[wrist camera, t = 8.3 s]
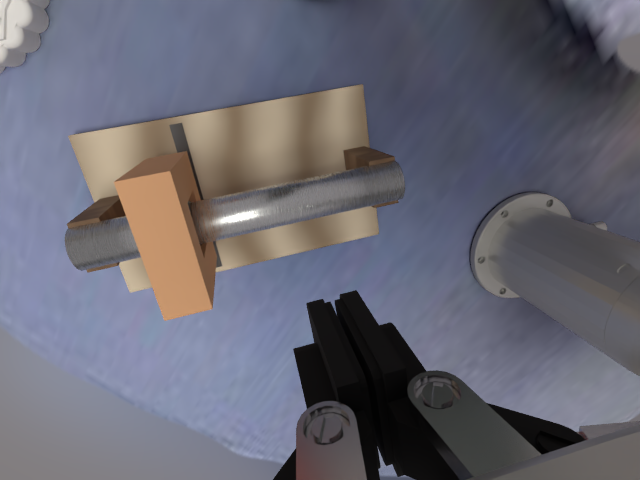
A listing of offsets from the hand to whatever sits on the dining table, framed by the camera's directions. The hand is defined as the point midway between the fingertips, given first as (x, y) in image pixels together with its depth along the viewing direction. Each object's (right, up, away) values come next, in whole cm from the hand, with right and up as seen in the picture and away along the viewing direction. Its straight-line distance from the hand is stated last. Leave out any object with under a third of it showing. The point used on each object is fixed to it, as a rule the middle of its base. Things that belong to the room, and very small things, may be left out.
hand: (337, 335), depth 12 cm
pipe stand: (-8, +8, +23) cm, 25 cm away
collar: (-12, +5, +19) cm, 22 cm away
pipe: (-6, +6, +17) cm, 19 cm away
